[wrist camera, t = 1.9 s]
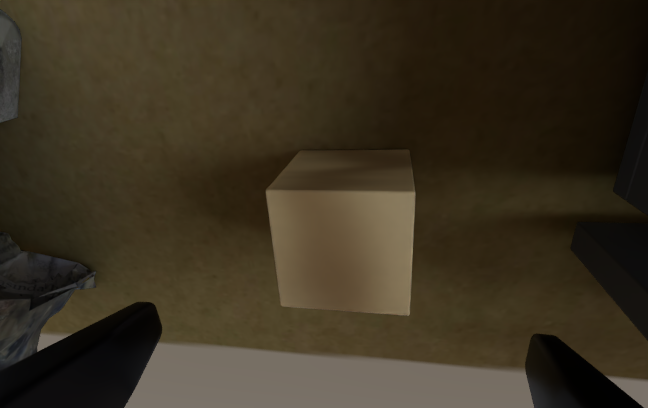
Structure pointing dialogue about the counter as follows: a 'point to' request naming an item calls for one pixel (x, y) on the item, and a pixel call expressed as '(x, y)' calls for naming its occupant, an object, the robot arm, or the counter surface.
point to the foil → (23, 266)
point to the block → (344, 230)
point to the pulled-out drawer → (623, 230)
